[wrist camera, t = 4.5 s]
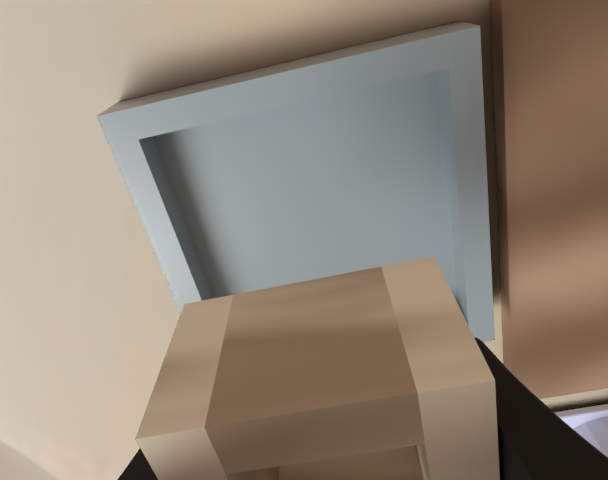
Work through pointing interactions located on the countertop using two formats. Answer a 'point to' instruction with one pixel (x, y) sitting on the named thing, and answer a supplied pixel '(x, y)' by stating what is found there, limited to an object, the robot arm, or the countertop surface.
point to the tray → (318, 170)
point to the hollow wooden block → (326, 384)
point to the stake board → (552, 190)
